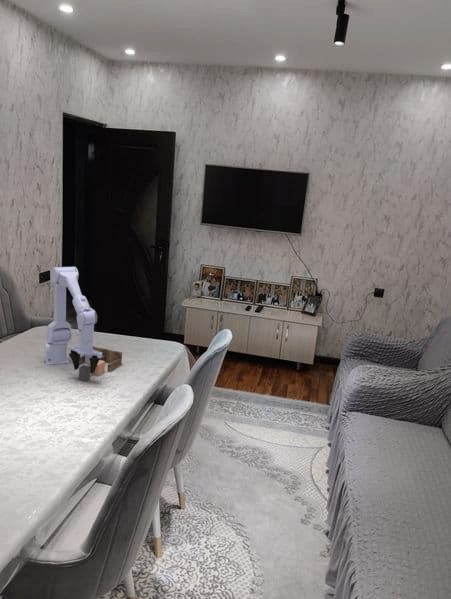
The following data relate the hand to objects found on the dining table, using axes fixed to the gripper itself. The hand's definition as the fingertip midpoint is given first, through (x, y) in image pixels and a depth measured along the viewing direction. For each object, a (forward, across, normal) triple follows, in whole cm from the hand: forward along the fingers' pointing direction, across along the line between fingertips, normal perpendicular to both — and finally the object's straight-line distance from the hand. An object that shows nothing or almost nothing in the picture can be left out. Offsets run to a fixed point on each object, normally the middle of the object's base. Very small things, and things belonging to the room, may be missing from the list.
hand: (84, 370), depth 191 cm
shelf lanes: (+4, -4, +17) cm, 18 cm away
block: (+4, -8, +18) cm, 20 cm away
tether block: (+4, 0, +5) cm, 6 cm away
